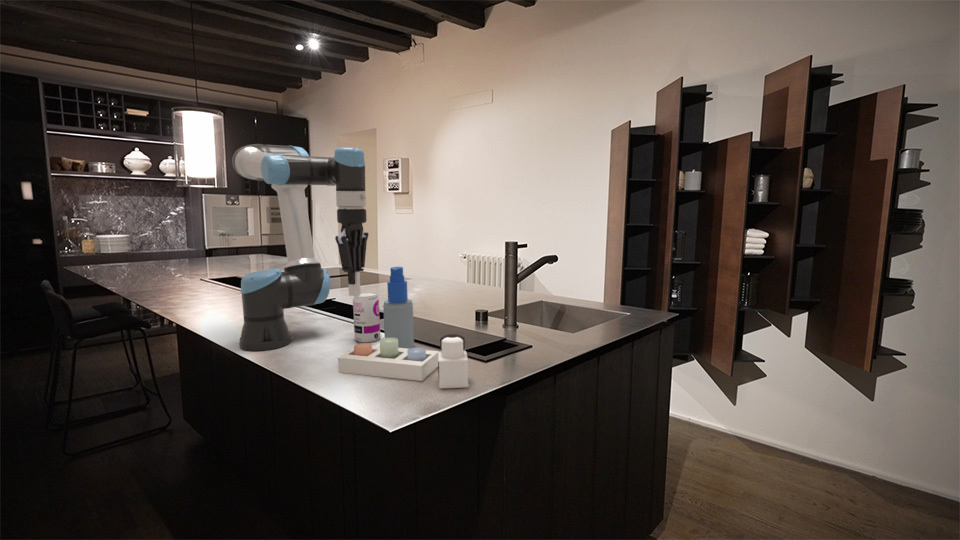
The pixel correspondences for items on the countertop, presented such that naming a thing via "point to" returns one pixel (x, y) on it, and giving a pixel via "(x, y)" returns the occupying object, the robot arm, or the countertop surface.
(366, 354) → the button terracotta
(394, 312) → the spray bottle
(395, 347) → the button sage
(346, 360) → the panel
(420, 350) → the button blue
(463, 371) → the medicine bottle
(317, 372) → the countertop surface
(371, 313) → the supplement can
